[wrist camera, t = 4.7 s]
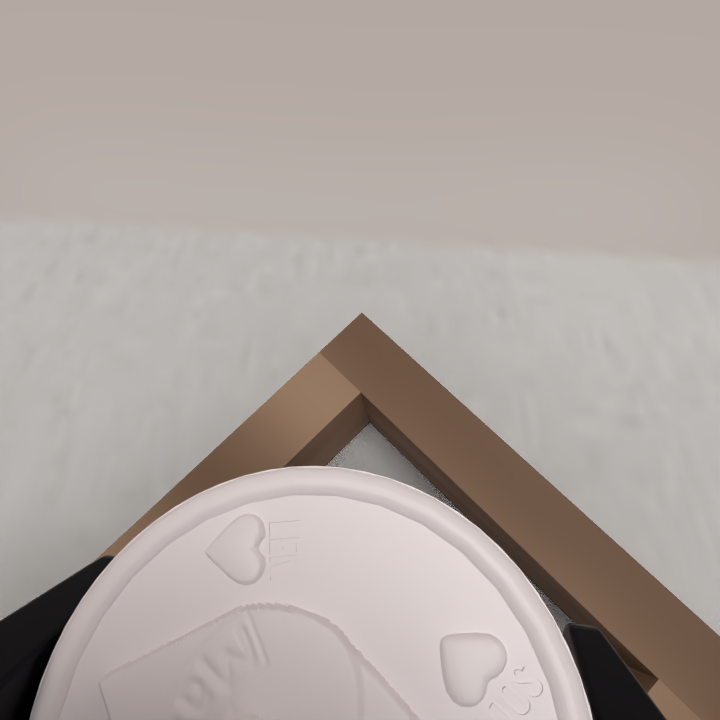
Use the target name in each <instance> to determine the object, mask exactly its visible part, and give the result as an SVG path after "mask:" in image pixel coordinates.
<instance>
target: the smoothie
mask: <svg viewBox="0 0 720 720" xmlns="http://www.w3.org/2000/svg"><path fill="white" fill-rule="evenodd" d="M30 720H593V718H592V714H591V709H590V706H589V703H588V699H587V696H586V693H585V690H584V687H583V683H582V680H581V677H580V674H579V672H578V669H577V667H576V664H575V662H574V659H573V657H572V655H571V652H570V650H569V647H568V645H567V643H566V641H565V639H564V637H563V635H562V633H561V631H560V629H559V627H558V626H557V624H556V622H555V620H554V618H553V616H552V615H551V613H550V611H549V610H548V608H547V607H546V605H545V603H544V602H543V600H542V599H541V597H540V595H539V594H538V592H537V591H536V590H535V588H534V587H533V586H532V584H531V583H530V582H529V580H528V579H527V578H526V576H525V575H524V574H523V572H522V571H521V570H520V568H519V567H518V566H517V565H516V564H515V563H514V562H513V561H512V560H511V559H510V557H509V556H508V555H507V554H506V553H505V552H504V551H503V550H502V549H501V548H500V547H499V546H498V545H497V544H496V543H495V542H494V541H493V540H492V539H491V538H490V537H488V536H487V535H486V534H485V533H484V532H483V531H482V530H481V529H480V528H478V527H477V526H476V525H474V524H473V523H472V522H471V521H469V520H468V519H467V518H465V517H464V516H463V515H461V514H460V513H459V512H457V511H456V510H454V509H452V508H451V507H449V506H447V505H446V504H444V503H443V502H441V501H439V500H438V499H436V498H434V497H432V496H430V495H428V494H426V493H424V492H422V491H420V490H418V489H416V488H414V487H412V486H409V485H406V484H404V483H401V482H399V481H396V480H393V479H391V478H388V477H384V476H380V475H376V474H373V473H369V472H365V471H359V470H353V469H347V468H341V467H327V466H298V467H286V468H279V469H271V470H265V471H261V472H257V473H253V474H249V475H244V476H241V477H238V478H235V479H232V480H229V481H227V482H224V483H221V484H218V485H216V486H214V487H212V488H210V489H207V490H205V491H203V492H201V493H198V494H196V495H195V496H193V497H191V498H189V499H188V500H186V501H184V502H182V503H181V504H179V505H177V506H175V507H174V508H172V509H171V510H170V511H168V512H167V513H165V514H164V515H162V516H161V517H159V518H158V519H157V520H155V521H154V522H153V523H151V524H150V525H149V526H148V527H147V528H145V529H144V530H143V531H142V532H141V533H139V534H138V535H137V536H136V537H135V538H133V539H132V540H131V541H130V542H129V543H128V544H127V545H126V546H125V547H124V548H123V549H122V550H121V551H120V552H119V553H118V554H117V555H116V556H115V557H114V559H113V560H112V561H111V562H110V563H109V564H108V566H107V567H106V568H105V569H104V570H103V571H102V573H101V574H100V575H99V576H98V577H97V579H96V580H95V581H94V583H93V584H92V586H91V587H90V588H89V590H88V591H87V593H86V594H85V595H84V597H83V598H82V600H81V601H80V603H79V604H78V606H77V608H76V609H75V611H74V613H73V614H72V616H71V618H70V619H69V621H68V623H67V624H66V626H65V628H64V630H63V632H62V634H61V636H60V638H59V640H58V642H57V644H56V646H55V648H54V650H53V652H52V654H51V657H50V659H49V662H48V664H47V667H46V669H45V672H44V674H43V677H42V679H41V682H40V685H39V689H38V692H37V695H36V698H35V701H34V704H33V708H32V711H31V715H30Z"/></svg>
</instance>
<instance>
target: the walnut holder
mask: <svg viewBox="0 0 720 720" xmlns="http://www.w3.org/2000/svg"><path fill="white" fill-rule="evenodd" d="M369 422H370V423H371V424H372V425H373V426H374V427H375V428H376V429H377V430H378V431H379V432H380V433H381V434H382V435H383V436H384V437H385V438H386V439H387V440H388V441H389V442H390V443H391V444H392V445H394V446H395V447H396V448H397V449H398V450H399V451H400V452H401V453H402V454H403V455H404V456H405V457H406V458H407V459H408V460H409V461H410V462H411V463H412V464H413V465H414V466H415V467H416V468H417V469H418V470H419V471H420V472H421V473H422V474H423V475H424V476H425V477H426V478H427V479H428V480H429V481H430V482H431V483H432V484H433V485H434V486H435V487H436V488H437V489H439V490H440V491H441V492H442V493H443V494H444V495H445V496H446V497H447V498H448V499H449V500H450V501H451V502H452V503H453V504H454V505H455V506H456V507H457V508H458V509H459V510H460V511H461V512H462V513H463V514H464V515H465V516H466V517H467V518H468V519H469V520H470V521H471V522H472V523H473V524H474V525H476V526H477V527H478V528H480V529H481V530H482V531H483V532H484V533H485V534H486V535H487V536H488V537H490V538H491V539H492V540H493V541H494V542H495V543H496V544H497V545H498V546H499V547H500V548H501V549H502V550H503V551H504V552H505V553H506V554H507V555H508V556H509V557H510V559H511V560H512V561H513V562H514V563H515V564H516V565H517V566H518V567H519V568H520V570H521V571H522V572H523V573H524V574H525V575H526V576H527V577H529V578H530V579H531V580H532V581H533V582H534V583H535V584H536V585H537V586H538V587H539V588H540V589H541V590H542V591H543V592H544V593H545V594H546V595H547V596H548V597H549V598H550V599H551V600H552V601H553V602H554V603H555V604H556V605H557V606H558V607H559V608H560V609H561V610H562V611H563V612H564V613H565V614H566V615H567V616H568V617H569V618H570V619H571V620H572V621H574V622H575V623H576V624H583V625H590V626H595V627H597V628H598V629H599V630H601V632H602V633H603V634H604V635H605V637H606V638H607V639H608V641H609V642H610V643H611V645H612V646H613V648H614V649H615V650H616V652H617V653H618V654H619V656H620V657H621V658H622V660H623V661H624V662H625V664H626V665H627V666H628V668H629V669H630V670H631V672H632V673H633V675H634V676H635V677H636V679H637V680H638V681H639V683H640V684H641V685H642V687H643V688H644V689H645V691H646V692H647V693H648V695H649V696H650V697H651V699H652V700H653V701H654V703H655V704H656V706H657V707H658V708H659V710H660V711H661V712H662V714H663V715H664V716H665V718H666V719H667V720H720V636H719V635H718V634H716V633H715V632H714V631H713V630H712V629H711V628H710V627H709V626H708V625H706V624H705V623H704V622H703V621H702V620H701V619H700V618H699V617H698V616H697V615H695V614H694V613H693V612H692V611H691V610H690V609H689V608H688V607H687V606H685V605H684V604H683V603H682V602H681V601H680V600H679V599H678V598H677V597H676V596H674V595H673V594H672V593H671V592H670V591H669V590H668V589H667V588H666V587H664V586H663V585H662V584H661V583H660V582H659V581H658V580H657V579H656V578H655V577H653V576H652V575H651V574H650V573H649V572H648V571H647V570H646V569H645V568H643V567H642V566H641V565H640V564H639V563H638V562H637V561H636V560H635V559H634V558H632V557H631V556H630V555H629V554H628V553H627V552H626V551H625V550H624V549H622V548H621V547H620V546H619V545H618V544H617V543H616V542H615V541H614V540H613V539H611V538H610V537H609V536H608V535H607V534H606V533H605V532H604V531H603V530H601V529H600V528H599V527H598V526H597V525H596V524H595V523H594V522H593V521H592V520H590V519H589V518H588V517H587V516H586V515H585V514H584V513H583V512H582V511H580V510H579V509H578V508H577V507H576V506H575V505H574V504H573V503H572V502H571V501H569V500H568V499H567V498H566V497H565V496H564V495H563V494H562V493H561V492H559V491H558V490H557V489H556V488H555V487H554V486H553V485H552V484H551V483H550V482H548V481H547V480H546V479H545V478H544V477H543V476H542V475H541V474H540V473H538V472H537V471H536V470H535V469H534V468H533V467H532V466H531V465H530V464H529V463H527V462H526V461H525V460H524V459H523V458H522V457H521V456H520V455H519V454H517V453H516V452H515V451H514V450H513V449H512V448H511V447H510V446H509V445H508V444H506V443H505V442H504V441H503V440H502V439H501V438H500V437H499V436H498V435H496V434H495V433H494V432H493V431H492V430H491V429H490V428H489V427H488V426H487V425H485V424H484V423H483V422H482V421H481V420H480V419H479V418H478V417H477V416H475V415H474V414H473V413H472V412H471V411H470V410H469V409H468V408H467V407H466V406H464V405H463V404H462V403H461V402H460V401H459V400H458V399H457V398H456V397H454V396H453V395H452V394H451V393H450V392H449V391H448V390H447V389H446V388H445V387H443V386H442V385H441V384H440V383H439V382H438V381H437V380H436V379H435V378H433V377H432V376H431V375H430V374H429V373H428V372H427V371H426V370H425V369H424V368H422V367H421V366H420V365H419V364H418V363H417V362H416V361H415V360H414V359H412V358H411V357H410V356H409V355H408V354H407V353H406V352H405V351H404V350H403V349H401V348H400V347H399V346H398V345H397V344H396V343H395V342H394V341H393V340H391V339H390V338H389V337H388V336H387V335H386V334H385V333H384V332H383V331H382V330H380V329H379V328H378V327H377V326H376V325H375V324H374V323H373V322H372V321H370V320H369V319H368V318H367V317H366V316H365V315H364V314H363V313H361V314H360V315H359V316H358V317H357V318H356V319H355V320H353V321H352V322H351V323H350V324H349V325H348V326H347V327H346V328H345V329H344V330H343V331H342V332H341V333H339V334H338V335H337V336H336V337H335V338H334V339H333V340H332V341H331V342H330V343H329V344H328V345H327V346H325V347H324V348H323V349H322V350H321V351H320V352H319V353H318V354H317V355H316V356H315V357H314V358H313V359H312V360H310V361H309V362H308V363H307V364H306V365H305V366H304V367H303V368H302V369H301V370H300V371H299V372H298V373H296V374H295V375H294V376H293V377H292V378H291V379H290V380H289V381H288V382H287V383H286V384H285V385H284V386H282V387H281V388H280V389H279V390H278V391H277V392H276V393H275V394H274V395H273V396H272V397H271V398H270V399H268V400H267V401H266V402H265V403H264V404H263V405H262V406H261V407H260V408H259V409H258V410H257V411H256V412H255V413H253V414H252V415H251V416H250V417H249V418H248V419H247V420H246V421H245V422H244V423H243V424H242V425H241V426H239V427H238V428H237V429H236V430H235V431H234V432H233V433H232V434H231V435H230V436H229V437H228V438H227V439H225V440H224V441H223V442H222V443H221V444H220V445H219V446H218V447H217V448H216V449H215V450H214V451H213V452H211V453H210V454H209V455H208V456H207V457H206V458H205V459H204V460H203V461H202V462H201V463H200V464H199V465H197V466H196V467H195V468H194V469H193V470H192V471H191V472H190V473H189V474H188V475H187V476H186V477H185V478H184V479H182V480H181V481H180V482H179V483H178V484H177V485H176V486H175V487H174V488H173V489H172V490H171V491H170V492H168V493H167V494H166V495H165V496H164V497H163V498H162V499H161V500H160V501H159V502H158V503H157V504H156V505H154V506H153V507H152V508H151V509H150V510H149V511H148V512H147V513H146V514H145V515H144V516H143V517H142V518H140V519H139V520H138V521H137V522H136V523H135V524H134V525H133V526H132V527H131V528H130V529H129V530H128V531H127V532H125V533H124V534H123V535H122V536H121V537H120V538H119V539H118V540H117V541H116V542H115V543H114V544H113V545H111V546H110V547H109V548H108V549H107V550H106V551H105V552H104V553H103V554H102V555H101V556H100V557H99V558H101V557H103V556H105V555H114V556H116V555H117V554H118V553H119V552H120V551H121V550H122V549H123V548H124V547H125V546H126V545H127V544H128V543H129V542H130V541H131V540H132V539H133V538H135V537H136V536H137V535H138V534H139V533H141V532H142V531H143V530H144V529H145V528H147V527H148V526H149V525H150V524H151V523H153V522H154V521H155V520H157V519H158V518H159V517H161V516H162V515H164V514H165V513H167V512H168V511H170V510H171V509H172V508H174V507H175V506H177V505H179V504H181V503H182V502H184V501H186V500H188V499H189V498H191V497H193V496H195V495H196V494H198V493H201V492H203V491H205V490H207V489H210V488H212V487H214V486H216V485H218V484H221V483H224V482H227V481H229V480H232V479H235V478H238V477H241V476H244V475H249V474H253V473H257V472H261V471H265V470H271V469H279V468H286V467H298V466H325V465H326V464H327V463H328V462H329V461H330V460H331V459H332V458H333V457H334V456H336V455H337V454H338V453H339V452H340V451H341V450H342V449H343V448H344V447H345V446H346V445H347V444H348V443H349V442H350V441H351V440H352V439H353V438H354V437H355V436H356V435H357V434H358V433H359V432H360V431H361V430H362V429H363V428H364V427H365V426H366V425H367V424H368V423H369ZM99 558H97V559H99ZM97 559H96V560H97ZM96 560H95V561H96Z"/></svg>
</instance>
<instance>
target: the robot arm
mask: <svg viewBox="0 0 720 720" xmlns="http://www.w3.org/2000/svg"><path fill="white" fill-rule="evenodd" d="M114 557H115V556H114V555H105V556H103V557H101V558H99V559H97V560H96V561H94V562H93V563H91V564H89V565H88V566H86V567H85V568H83V569H81V570H80V571H78V572H77V573H75V574H74V575H72V576H70V577H69V578H67V579H66V580H64V581H63V582H61V583H59V584H58V585H56V586H55V587H53V588H51V589H50V590H48V591H47V592H45V593H44V594H42V595H40V596H39V597H37V598H36V599H34V600H32V601H31V602H29V603H28V604H26V605H25V606H23V607H21V608H20V609H18V610H17V611H15V612H13V613H12V614H10V615H9V616H7V617H6V618H4V619H2V620H1V621H0V720H30V715H31V711H32V708H33V704H34V701H35V698H36V695H37V692H38V689H39V685H40V682H41V679H42V677H43V674H44V672H45V669H46V667H47V664H48V662H49V659H50V657H51V654H52V652H53V650H54V648H55V646H56V644H57V642H58V640H59V638H60V636H61V634H62V632H63V630H64V628H65V626H66V624H67V623H68V621H69V619H70V618H71V616H72V614H73V613H74V611H75V609H76V608H77V606H78V604H79V603H80V601H81V600H82V598H83V597H84V595H85V594H86V593H87V591H88V590H89V588H90V587H91V586H92V584H93V583H94V581H95V580H96V579H97V577H98V576H99V575H100V574H101V573H102V571H103V570H104V569H105V568H106V567H107V566H108V564H109V563H110V562H111V561H112V560H113V559H114ZM563 637H564V639H565V641H566V643H567V645H568V647H569V650H570V652H571V655H572V657H573V659H574V662H575V664H576V667H577V669H578V672H579V674H580V677H581V680H582V683H583V687H584V690H585V693H586V696H587V699H588V703H589V706H590V709H591V714H592V718H593V720H667V719H666V718H665V716H664V715H663V714H662V712H661V711H660V710H659V708H658V707H657V706H656V704H655V703H654V701H653V700H652V699H651V697H650V696H649V695H648V693H647V692H646V691H645V689H644V688H643V687H642V685H641V684H640V683H639V681H638V680H637V679H636V677H635V676H634V675H633V673H632V672H631V670H630V669H629V668H628V666H627V665H626V664H625V662H624V661H623V660H622V658H621V657H620V656H619V654H618V653H617V652H616V650H615V649H614V648H613V646H612V645H611V643H610V642H609V641H608V639H607V638H606V637H605V635H604V634H603V633H602V632H601V630H599V629H598V628H597V627H595V626H590V625H583V624H576V623H569V624H567V625H566V627H565V629H564V632H563Z"/></svg>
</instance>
